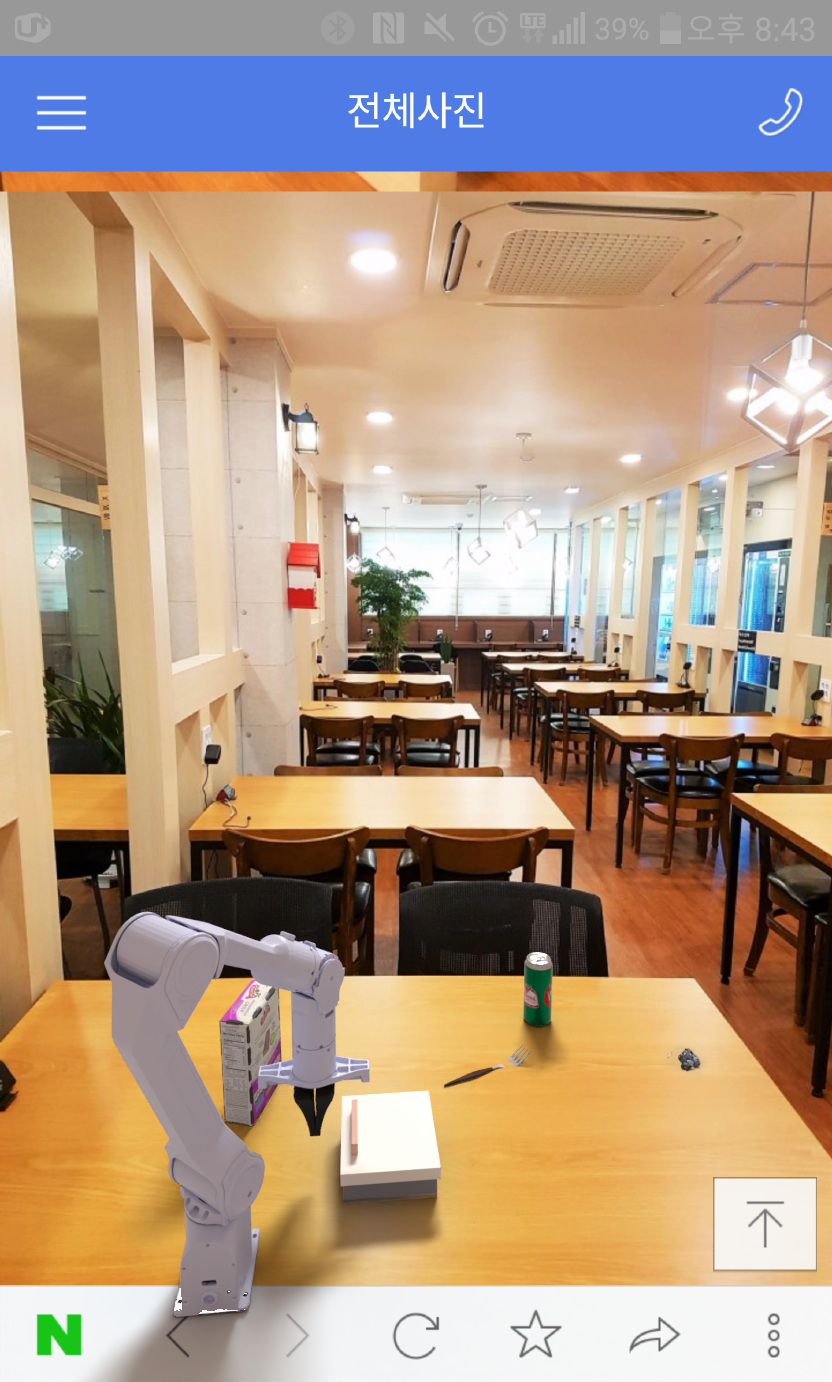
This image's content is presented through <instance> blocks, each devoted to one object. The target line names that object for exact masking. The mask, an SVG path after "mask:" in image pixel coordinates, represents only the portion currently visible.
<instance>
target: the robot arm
mask: <svg viewBox="0 0 832 1382" xmlns="http://www.w3.org/2000/svg"><path fill="white" fill-rule="evenodd" d="M295 939H296V935H294V934H292V933H289V932H286V931H280V934H270V935H266V936H265V937H263V938H261V939H260V940H257V939H256V940H255V939H253V938H250V937H247V936H245V935H243V934H239V933H236V932H234V931H231V930H227V929H224V928H223V927H220V926H217V925H214V924H211V923H210V922H205V921H201V920H196V919H195V920H194V919H190V918H185V917H181V916H176V915H165V918H163V917H162V916H160V914H157V913H155V912H151V911H143V912H139V913H136V914H134V915H133V916H131V917H130V918H129V919H128V920H126V921H125V922H124V923H123V924H122V925H121V927H120V928H119V929H118V930H117V933H116V935H115V936H114V939H113V942H111V943H112V944H111V946H110V948H109V951H108V953H107V956H106V958H105V960H104V967H105V969H106V972H107V974H108V977H109V979H110V982H111V1038H112V1041H113V1044H114V1046H115V1047H116V1049H117V1051H118V1053H119V1054H120V1056H121V1058H122V1059H123V1061H124V1063H125V1065H126V1066H127V1068H128V1070H129V1072H130V1074H131V1075H132V1077H133V1078H134V1080H135V1082H136V1084H137V1085H138V1087H139V1089H140V1091H141V1092H142V1094H143V1096H144V1098H145V1099H146V1101H147V1103H148V1105H149V1107H150V1108H151V1110H152V1111H153V1113H154V1115H155V1116H156V1118H157V1120H158V1122H159V1123H160V1125H161V1127H162V1128H163V1130H164V1132H165V1134H166V1136H167V1137H168V1140H167V1142H166V1143H165V1145H164V1150H165V1152H166V1154H167V1157H168V1174H169V1178H170V1179H171V1180H172V1182H174V1183H176V1184H178V1185H179V1186H180V1187H179V1190H180V1196H181V1197H182V1198H183V1207H184V1226H185V1227H184V1228H185V1229H184V1230H185V1234H184V1235H185V1242H184V1247H183V1250H182V1255H181V1258H180V1266H179V1271H180V1272H179V1273H180V1280H179V1281H180V1282H179V1284H178V1285H179V1286H178V1288H181V1297H182V1310H181V1309H179V1310H180V1311H178V1310H176V1311H173V1310H172V1313H173V1312H174V1316H173V1317H175V1316H176V1318H178V1317H179V1318H180V1317H189V1316H190V1317H191V1316H200V1315H199V1313H200V1312H202V1310H207V1311H215V1310H217V1309H223V1310H225V1309H227V1310H238V1311H237V1312H241V1311H240V1310H244V1309H245V1311H247V1310H248V1309H249V1307H250V1303H249V1301H251V1296H250V1295H251V1293H252V1289H251V1288H253V1281H254V1275H255V1266H256V1260H257V1254H258V1248H259V1243H260V1242H259V1241H260V1234H261V1233H260V1229H259V1228H255V1227H254V1228H252V1207H251V1206H252V1205H253V1203H254V1202H255V1201H256V1199H257V1197H258V1195H259V1193H260V1191H261V1189H262V1187H263V1186H262V1185H263V1183H264V1178H265V1168H266V1167H265V1161H264V1157H263V1156H262V1155H261V1154H260V1153H258V1152H255V1151H252V1150H250V1149H249V1148H248V1146H247V1144H246V1143H245V1142H244V1141H243V1140H242V1139H241V1138H240V1137H239V1136H238V1135H237V1134H236V1133H235V1132H233V1130H232V1129H230V1127H229V1126H227V1124H225V1122H224V1121H225V1120H223V1117H222V1116H221V1114H220V1111H219V1110H218V1108H217V1106H216V1104H215V1102H214V1100H213V1098H212V1096H211V1095H210V1092H209V1090H208V1089H207V1086H206V1085H205V1083H204V1081H203V1079H202V1077H201V1075H200V1073H199V1071H198V1068H197V1067H196V1066H195V1063H194V1061H193V1059H192V1057H191V1056H190V1054H189V1051H188V1050H187V1047H186V1046H185V1044H184V1042H183V1040H182V1039H181V1036H180V1034H179V1033H178V1032H179V1031H182V1030H184V1028H185V1026H186V1025H187V1023H188V1021H189V1020H190V1018H191V1016H192V1014H193V1013H194V1011H195V1009H196V1008H197V1006H198V1004H199V1002H200V1001H201V999H202V997H203V996H204V994H205V992H206V990H207V989H208V988H209V985H210V983H211V982H212V979H214V980H217V979H219V977H221V975H222V974H221V973H222V972H223V968H224V965H225V966H230V967H234V968H240V969H245V970H249V971H250V974H251V976H252V977H253V980H256V981H257V982H258V983H259V984H262V985H266V986H271V987H275V988H279V990H283V991H289V992H290V1000H291V1002H290V1005H291V1007H290V1009H291V1014H290V1015H291V1050H292V1051H291V1053H292V1054H291V1055H292V1057H291V1058H290V1059H286V1060H282V1062H279V1063H275V1064H271V1065H265V1066H260V1068H259V1073H258V1089H265V1088H267V1085H277V1086H278V1085H287V1086H293V1100H294V1103H295V1104H296V1106H297V1107H298V1108H299V1109H300V1111H301V1113H302V1115H303V1117H304V1119H305V1121H306V1125H307V1127H308V1132H309V1136H310V1138H311V1137H319V1136H320V1137H321V1133H322V1127H323V1121H324V1119H325V1116H326V1113H327V1110H328V1109H329V1107H330V1105H331V1103H332V1102H333V1099H334V1096H335V1092H336V1091H335V1087H336V1085H335V1084H336V1083H339V1082H343V1081H354V1080H356V1081H357V1080H360V1082H361V1083H371V1082H370V1081H371V1080H370V1060H369V1059H359V1058H353V1057H348V1056H347V1057H346V1056H342V1055H337V1039H336V1038H337V1037H336V1036H337V1033H336V1032H337V1031H336V1028H337V1027H336V1025H337V1024H336V1020H337V1019H336V1018H337V1017H336V1007H337V1006H338V1004H339V1001H340V992H341V991H340V990H341V987H342V984H343V982H344V979H345V974H346V973H345V972H346V967H343V963H342V962H341V961H340V959H339V956H338V955H336V954H334V953H332V952H330V951H327V950H325V949H320V948H318V947H316V946H317V945H316V943H314V942H311V941H309V940H304V941H297V940H295ZM228 1291H230V1292H228ZM244 1293H247V1294H248V1295H245V1296H243V1294H244ZM248 1306H249V1307H248ZM247 1308H248V1309H247ZM246 1309H247V1310H246Z"/></svg>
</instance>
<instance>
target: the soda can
mask: <svg viewBox="0 0 832 1382" xmlns="http://www.w3.org/2000/svg"><path fill="white" fill-rule="evenodd" d="M523 967H524V969H523V971H524V972H523V973H524V975H523V1006H522V1007H523V1009H522V1010H523V1011H522V1012H523V1013H522V1015H523V1019H524V1020H525V1021H526V1022H527V1024H529V1025H531V1026H533V1027H545V1026H546V1025H548V1024H549V1023H550V1022H551V1020H552V1007H553V1005H552V1002H553V1001H552V1000H553V973H554V972H553V969H554V968H553V967H554V966H553V962H552V959H551V957H550V956H549V955H548V954H546V953H543V952H531V953H529V954H527V956H526V959H525V960H524V966H523Z"/></svg>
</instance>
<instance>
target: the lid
mask: <svg viewBox="0 0 832 1382" xmlns="http://www.w3.org/2000/svg"><path fill="white" fill-rule="evenodd" d="M340 1130H341V1131H340V1133H341V1135H340V1139H341V1140H340V1144H341V1145H340V1173H339V1175H340V1187H343V1186H352V1185H365V1184H378V1183H392V1182H405V1181H418V1180H432V1179H437V1180H441V1175H442V1174H441V1169H442V1168H441V1161H440V1155H439V1149H438V1142H437V1137H436V1130H435V1123H434V1118H433V1111H432V1103H431V1097H430V1091H429V1090H417V1091H402V1092H401V1091H400V1092H387V1093H386V1092H385V1093H372V1094H370V1093H368V1094H357V1095H356V1094H354V1095H341V1129H340Z"/></svg>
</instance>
